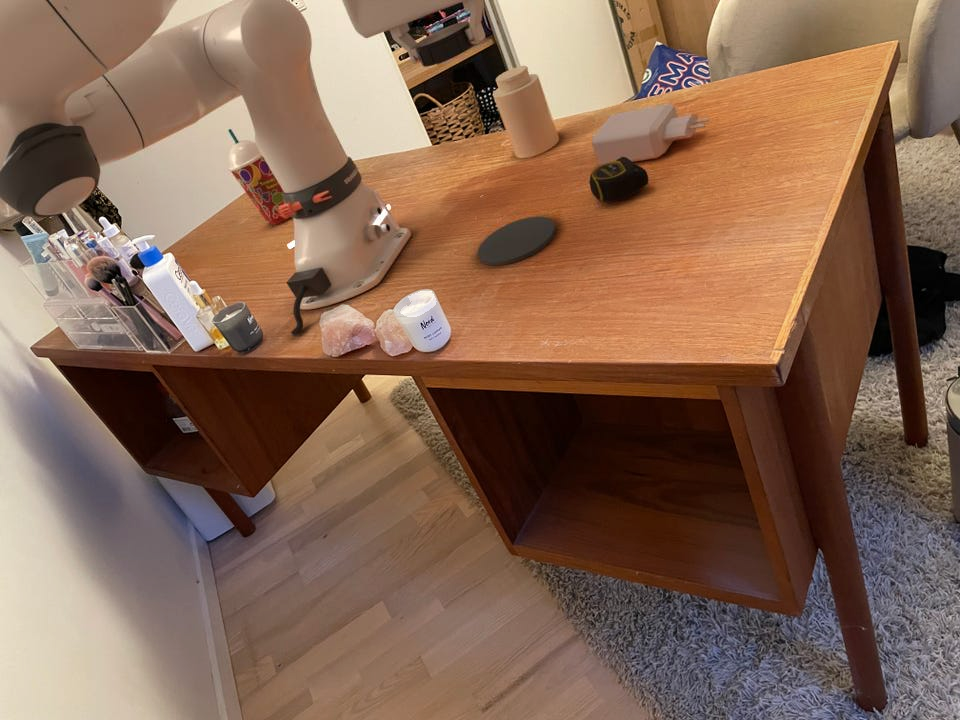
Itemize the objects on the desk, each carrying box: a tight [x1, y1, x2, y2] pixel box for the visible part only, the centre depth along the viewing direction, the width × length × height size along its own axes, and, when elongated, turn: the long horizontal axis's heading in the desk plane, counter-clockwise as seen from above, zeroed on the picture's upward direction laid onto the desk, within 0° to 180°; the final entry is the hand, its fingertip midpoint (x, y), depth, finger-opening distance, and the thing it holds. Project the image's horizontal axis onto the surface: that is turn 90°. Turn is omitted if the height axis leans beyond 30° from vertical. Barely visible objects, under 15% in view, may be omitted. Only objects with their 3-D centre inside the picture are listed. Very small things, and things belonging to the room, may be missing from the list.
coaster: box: [477, 216, 557, 266], centre depth 92 cm, size 11×11×1 cm
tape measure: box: [588, 157, 649, 203], centre depth 90 cm, size 7×7×4 cm
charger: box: [591, 103, 710, 167], centre depth 97 cm, size 5×9×15 cm
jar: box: [492, 65, 560, 159], centre depth 115 cm, size 8×8×13 cm
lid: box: [415, 20, 475, 68], centre depth 81 cm, size 7×7×2 cm
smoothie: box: [227, 128, 292, 226], centre depth 139 cm, size 8×8×20 cm
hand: (448, 51), depth 81 cm, fingers closed on lid, 7 cm apart
